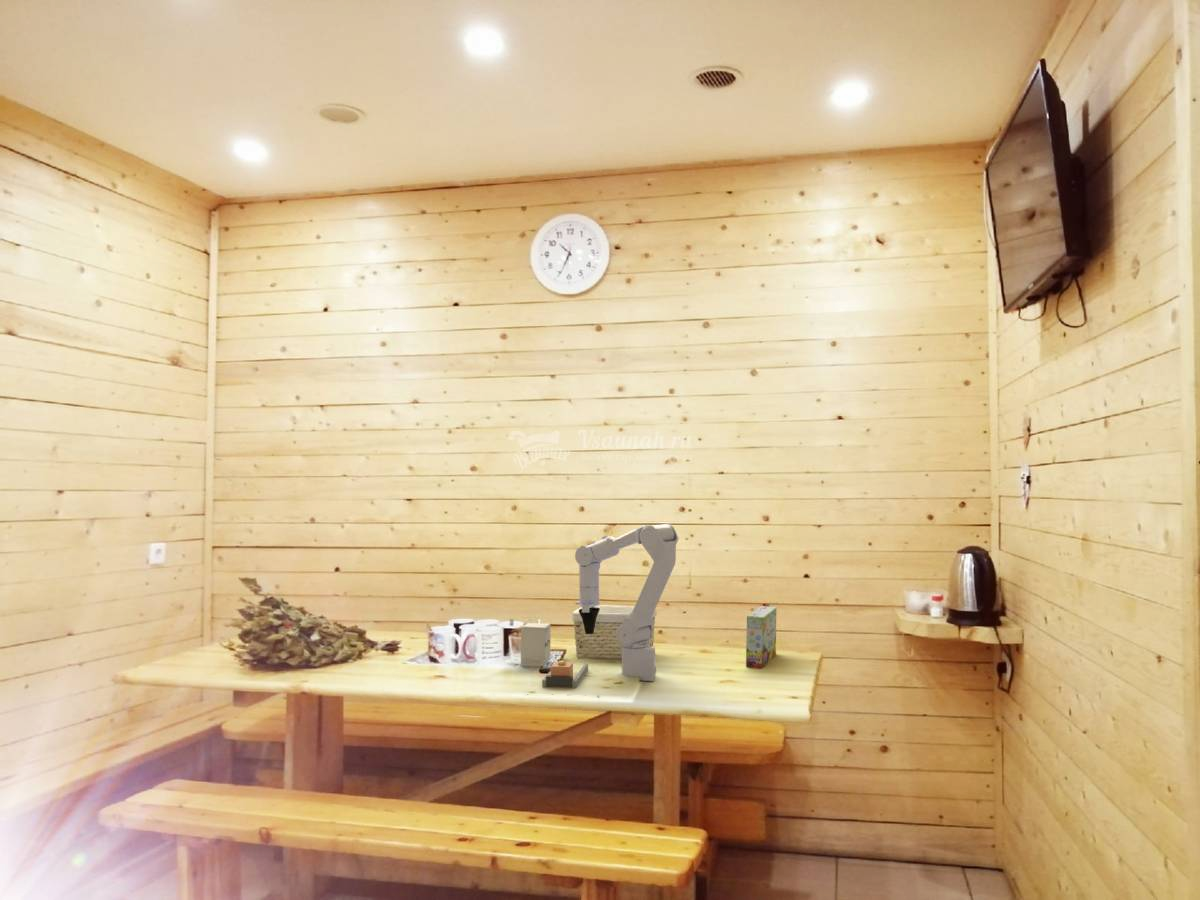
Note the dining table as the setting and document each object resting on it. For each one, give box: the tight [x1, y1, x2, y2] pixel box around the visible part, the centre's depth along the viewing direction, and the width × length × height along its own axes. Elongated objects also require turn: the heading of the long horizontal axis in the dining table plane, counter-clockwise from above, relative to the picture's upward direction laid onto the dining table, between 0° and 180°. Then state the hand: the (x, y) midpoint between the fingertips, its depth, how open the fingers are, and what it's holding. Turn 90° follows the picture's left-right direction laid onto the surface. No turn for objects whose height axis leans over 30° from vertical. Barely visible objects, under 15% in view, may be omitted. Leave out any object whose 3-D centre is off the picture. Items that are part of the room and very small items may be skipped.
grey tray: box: [541, 663, 589, 689], centre depth 233 cm, size 12×20×4 cm, turn 172°
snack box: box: [745, 605, 777, 669], centre depth 259 cm, size 21×6×15 cm, turn 158°
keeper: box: [550, 660, 574, 677], centre depth 227 cm, size 5×5×6 cm
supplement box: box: [520, 622, 551, 668], centre depth 251 cm, size 7×7×13 cm
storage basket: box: [571, 604, 657, 661], centre depth 267 cm, size 24×16×15 cm
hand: (589, 633), depth 249 cm, fingers closed
